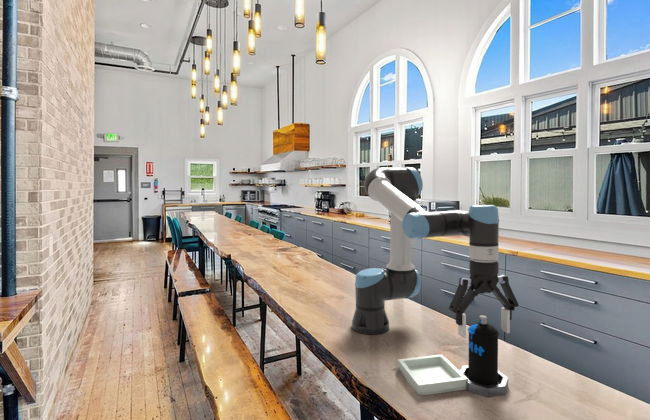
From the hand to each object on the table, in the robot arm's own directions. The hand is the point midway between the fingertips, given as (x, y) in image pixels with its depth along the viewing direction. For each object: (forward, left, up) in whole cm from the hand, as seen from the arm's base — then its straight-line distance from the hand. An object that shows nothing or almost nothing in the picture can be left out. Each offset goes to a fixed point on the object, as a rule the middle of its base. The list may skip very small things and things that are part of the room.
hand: (483, 333), depth 103 cm
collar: (0, 0, -15) cm, 15 cm away
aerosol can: (0, 0, -15) cm, 15 cm away
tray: (-6, -13, -15) cm, 21 cm away
